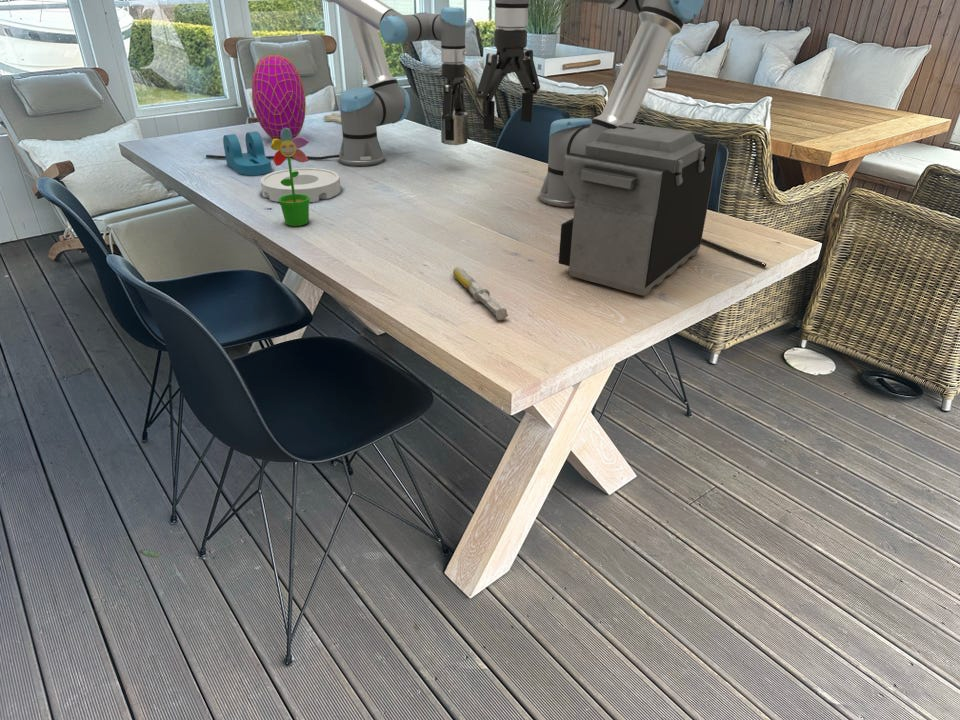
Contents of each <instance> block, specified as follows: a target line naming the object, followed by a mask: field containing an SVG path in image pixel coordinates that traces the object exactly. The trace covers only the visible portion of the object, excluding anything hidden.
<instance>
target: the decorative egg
mask: <svg viewBox="0 0 960 720" xmlns="http://www.w3.org/2000/svg"><path fill="white" fill-rule="evenodd" d="M253 70H254V71H253V73H252V77H251V101H252V107H253V110H254V114H255V116H256V118H257V121H258V123H259V125H260V127H261V128H262V130H263V131H264V133H266V135H267V136H268V137H270V138H271V139H272V140H273V139H279V140H281V136H280V134H281V131H282V130H283V129H284V128H288V129H289V130H290V131H291V134H292V139H293V138H295V137H298V136H299V134H301V131H302V129H303V127H304V123H305V118H306V104H307V103H306V102H307V101H306V99H307V97H306V93H305V88H304V84H303V81H302V77H301V75H300V73H299V71H298V69H297V67H296V66H295V65H294V63H293V62H292V61H291V60H290V59H288V58H287V57H285V56H282V55H280V54H268V55H265V56H262V57H261V58H260V59H259V60H258V61H257V62H256V65H255V68H254V69H253ZM281 141H282V140H281Z"/></svg>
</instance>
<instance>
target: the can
mask: <svg viewBox="0 0 960 720" xmlns="http://www.w3.org/2000/svg"><path fill="white" fill-rule="evenodd" d="M447 115H448V114H447ZM468 115H469V114H468V112H467V111H465V112H462V111H455V110H454V111H453V119H454V141H451V140H445V119H442V116H443V111H442V112H441V113H440V142H441V143H442V144H443V145H448V146H460V145H461V146H462V145H465V144H467V143H469V142H468V140H469V139H468V137H469V136H468V135H469V134H468V133H469V132H468V131H469V130H468V123H469V122H468V118H469V117H468Z"/></svg>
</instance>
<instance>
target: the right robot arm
mask: <svg viewBox="0 0 960 720" xmlns="http://www.w3.org/2000/svg"><path fill="white" fill-rule="evenodd" d="M571 1H574V2H585V3H595V4H604V5H606V7H607V8H609V9H613V10H614V9H615V10H621V11H624V12H628V13H632V14H635V15H638V18H639V21H640V25H639V28H638V30H637V32H636V34H635V36H634V39H633V40H632V43H631V46H630V48H629V50H628V52H627V55H626V57H625V60H624V61H623V64H622V67H621V68H620V71H619V73H618V75H617V77H616V80H615V82H614V85H613V87H612V89H611V92H610V93H609V96H608V99H607V101H606V103H605V105H604V108H603V110H602V112H601V114H599V115H597V116H595V117H593V119H592V118H589V117H588V118H587V117H575V118H574V117H573V118H562V119H556V120H554V121H553V122H551V124H550V129H549V134H548V136H549V138H548V139H549V141H548V156H547V158H548V159H547V173H546V176H545V178H544V181H543V184H542V187H541V189H540V192H539V200H540V202H542V203H543V204H546V205H549V206H553V207H558V208H559V207H560V208H574V206H575V201H576V198H575V196H574V195H573V193H572V191H571V189H570V188H569V186H568V184H567V183H566V181H565V179H564V178H563V173H564V159H565V155H567V154H569V153H575V154H580V155H585V148H586V145H587V144H590V143H592V142H594V141H596V140H597V138H598V137H599V135H600V134H601V132H603V131H606V130H608V129H616V128H618V126H619V125H622V124H624V123H634V121H635V119H636V117H637V114H638V113H639V110H640V109H641V106H642V103H643V102H644V99H645V97H646V95H647V93H648V90H649V88H650V86H651V83H652V81H653V79H654V77H655V75H656V72H657V70H658V68H659V66H660V64H661V62H662V60H663V57H664V54H665V52H666V50H667V48H668V45H669V43H670V42H671V39H672V37H673V36H676V35H678V34H680V33H681V32H682V28H683V27H684V24H685V22H688V21H691V20H693V19H694V18H696V17H697V16H698V15H699V14H700V12H701V10H702V8H703V5H704V1H705V0H571ZM529 3H530V0H494V27H496V29H494V31H493V46H494V47H495V48H496V52H495V53H490V52H488V53H486V55H485V64H484V66H483V67H484V68H483V70H482V75H481V76H480V79H479V83H478V87H477V90H476V91H475V92H476V93H475V98H476V99H479V100H481V101H482V115H483V130H487V131H492V132H493V131H495V106H496V105H495V100H493V99H494V97H495V95H496V93H497V91H498V89H499V88H500V85H501V83H502V81H503V79H504V77H506V76H507V75H508V74H509V75H510V74H512V73H514V74H515V76H516V77H517V79H518V81H519V83H520V86H521V87H522V89H523V91H524V92H522V93H521V110H520V111H521V112H520V113H521V115H520V121H521V122H526V123H532V118H533V117H532V115H533V106H534V95H537V94H538V92H539V90H540V88H541V84H540V81H539V77H538V74H537V68H536V65H535V61H534V50H532V49H527V46H528V31H527V29H526V28H528V26H529ZM701 244H704V245H707V246H709V247H712V248H714V249H717V250H719V251H722V252H724V253H727V254H728V255H731V256H734V257H735V258H738V259H740V260H744V261H746V262H749V263H751V264H754V265H756V266H759V267H762V268H766V267H767V263H765V262H763V261H760V260H758V259H755V258H752V257H749V256H747V255H744V254H741V253H739V252H736V251H734V250H732V249H729V248H728V247H724V246H722V245H719V244H718V243H715V242H712V241H710V240H707V239H705V238H702V240H701ZM762 263H764V264H765V265H764V264H762Z"/></svg>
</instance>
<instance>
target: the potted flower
mask: <svg viewBox="0 0 960 720" xmlns="http://www.w3.org/2000/svg"><path fill="white" fill-rule="evenodd" d="M280 136H281V140H282V141H281V140H279V139H273V138H272V141H271V145H270V148H271V149H272V150H274V151H275V153H274V155H273V156H274V158H273V159H272V160H273V163H274V165H275V167H277V166H282V164H283V163H285V161H286V159H287V164H288V165H287V166H288V169H289V173H290V179H283V180H282V181H281V184H282V185H284V186H291V188H292V194H290V195H285V196H282V197H280V198H279V202H278V203H279V205H280V207H281V210H282V215H283V219H284V223H285V225H287V226H290V227H291V226H292V227H301V226H304V225H306V224H309V222H310V206H309V205H310V202H309V196H307V195H304V194H295V191H294V183H293V178H294V177H296V176H297V175H298V174H299V172H297V171H294V172H292V169H293V168H292V162H291V161H292V160H291V159H293V160H294V161H296V162H297V163H307V162H309V159H308V158H307V156H308V155H306V153H305V152H303V150H301V148H303V147H305V146H306V145H308V144H309V143H310V140H308V139H307V138H306V137H303V136H299V135H298V136H296V137H295V138H293V139H292V134H291V131H290V130H289V129H288V128H284V129H283V130H282V131H281V134H280ZM286 157H287V158H286ZM290 157H292V158H290Z"/></svg>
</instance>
